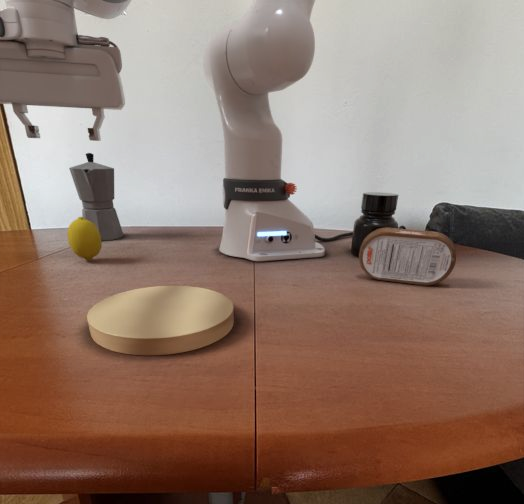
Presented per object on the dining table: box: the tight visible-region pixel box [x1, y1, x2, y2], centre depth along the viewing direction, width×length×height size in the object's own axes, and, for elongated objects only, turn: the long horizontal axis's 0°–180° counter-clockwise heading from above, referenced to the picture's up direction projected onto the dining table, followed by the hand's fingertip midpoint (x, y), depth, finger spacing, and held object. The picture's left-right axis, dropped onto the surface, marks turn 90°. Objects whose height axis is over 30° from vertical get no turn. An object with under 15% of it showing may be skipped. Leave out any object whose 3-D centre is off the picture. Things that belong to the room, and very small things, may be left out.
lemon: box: [67, 216, 102, 262], centre depth 69 cm, size 6×6×8 cm
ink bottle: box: [350, 191, 399, 257], centre depth 78 cm, size 10×9×12 cm
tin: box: [358, 227, 457, 286], centre depth 61 cm, size 15×3×8 cm, turn 71°
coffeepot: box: [68, 152, 124, 242], centre depth 88 cm, size 15×9×18 cm, turn 12°
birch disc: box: [86, 285, 235, 356], centre depth 46 cm, size 17×17×2 cm
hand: (65, 139), depth 62 cm, fingers open, 8 cm apart
